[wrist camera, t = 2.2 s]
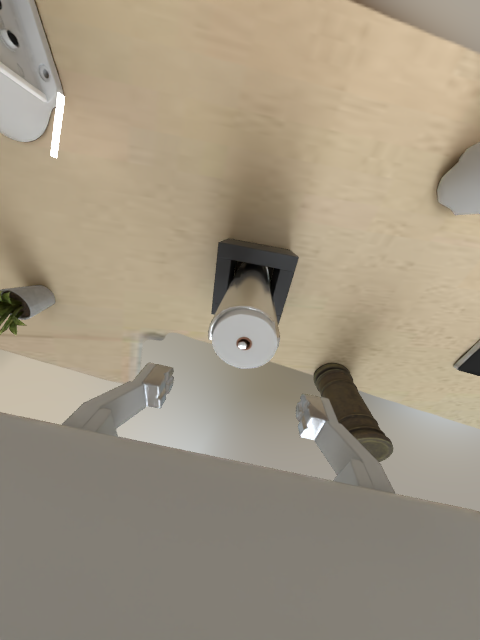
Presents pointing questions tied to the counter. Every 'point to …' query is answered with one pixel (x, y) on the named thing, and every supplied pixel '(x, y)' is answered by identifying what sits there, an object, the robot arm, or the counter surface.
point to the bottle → (462, 184)
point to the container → (352, 409)
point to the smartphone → (470, 361)
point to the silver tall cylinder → (246, 320)
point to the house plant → (23, 304)
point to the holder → (258, 255)
